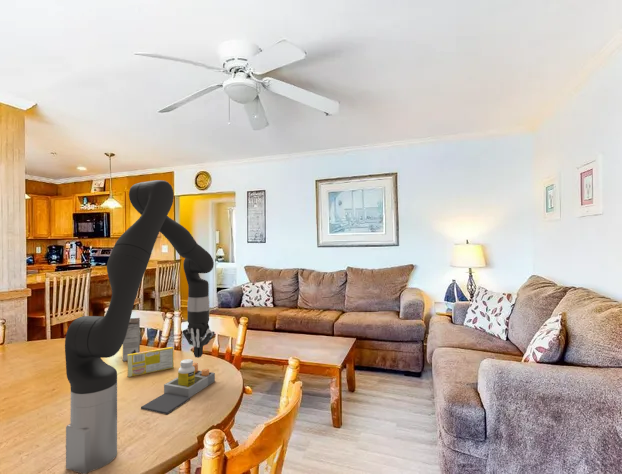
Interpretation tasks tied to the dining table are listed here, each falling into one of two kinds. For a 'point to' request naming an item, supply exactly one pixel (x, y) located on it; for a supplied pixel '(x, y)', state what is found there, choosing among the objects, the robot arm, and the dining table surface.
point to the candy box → (150, 361)
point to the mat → (165, 403)
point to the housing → (191, 390)
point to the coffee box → (132, 338)
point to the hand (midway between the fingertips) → (198, 356)
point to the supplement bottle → (186, 373)
